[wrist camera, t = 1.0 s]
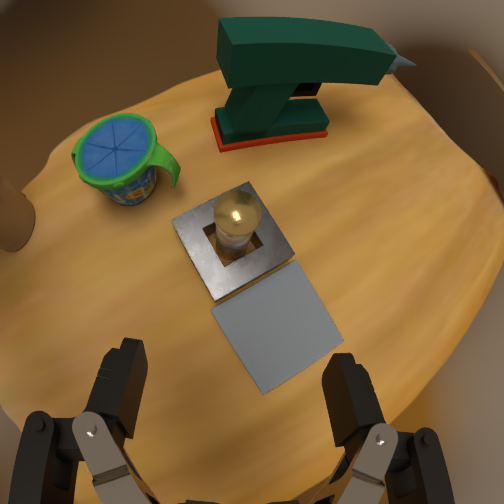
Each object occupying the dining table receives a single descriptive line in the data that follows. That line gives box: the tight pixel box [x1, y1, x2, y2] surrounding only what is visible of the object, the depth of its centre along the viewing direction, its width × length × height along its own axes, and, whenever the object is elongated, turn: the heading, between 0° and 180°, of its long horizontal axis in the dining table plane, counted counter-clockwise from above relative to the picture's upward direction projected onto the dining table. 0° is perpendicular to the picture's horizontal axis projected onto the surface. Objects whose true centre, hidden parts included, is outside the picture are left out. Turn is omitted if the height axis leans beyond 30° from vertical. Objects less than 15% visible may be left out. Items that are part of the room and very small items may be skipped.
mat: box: [211, 260, 344, 395], centre depth 35 cm, size 13×13×1 cm
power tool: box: [211, 17, 417, 152], centre depth 34 cm, size 32×7×20 cm, turn 106°
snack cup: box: [71, 113, 180, 205], centre depth 33 cm, size 16×10×10 cm
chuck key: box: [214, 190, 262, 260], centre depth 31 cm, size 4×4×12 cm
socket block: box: [171, 181, 295, 303], centre depth 35 cm, size 11×11×4 cm
